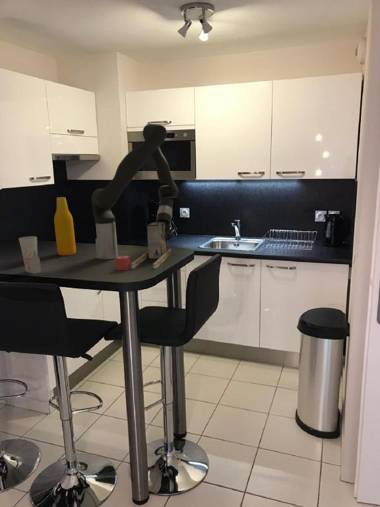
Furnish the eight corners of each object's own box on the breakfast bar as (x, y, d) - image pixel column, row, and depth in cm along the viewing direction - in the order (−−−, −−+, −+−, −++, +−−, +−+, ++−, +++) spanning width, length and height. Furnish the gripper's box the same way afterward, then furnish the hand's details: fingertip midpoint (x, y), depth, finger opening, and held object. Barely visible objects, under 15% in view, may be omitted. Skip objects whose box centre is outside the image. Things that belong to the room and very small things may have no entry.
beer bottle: (74, 250, 220) (68, 196, 213) (77, 254, 211) (72, 197, 205) (56, 253, 216) (50, 197, 209) (59, 256, 208) (52, 198, 201)
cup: (43, 260, 200) (40, 236, 197) (32, 264, 192) (29, 239, 190) (29, 260, 202) (26, 236, 200) (18, 264, 195) (15, 239, 192)
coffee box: (154, 254, 204) (152, 222, 201) (166, 254, 203) (164, 221, 199) (148, 258, 196) (146, 225, 192) (161, 258, 194) (159, 224, 191)
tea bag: (33, 269, 183) (30, 247, 181) (41, 271, 179) (38, 249, 177) (25, 271, 181) (22, 249, 178) (33, 273, 176) (30, 251, 174)
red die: (116, 269, 177) (115, 257, 176) (120, 266, 182) (119, 255, 181) (127, 270, 176) (126, 257, 175) (130, 267, 181) (129, 255, 180)
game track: (131, 268, 178) (130, 264, 178) (150, 253, 207) (150, 249, 206) (155, 268, 176) (155, 264, 176) (172, 253, 205) (171, 249, 204)
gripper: (150, 212, 210) (145, 240, 201) (175, 211, 208) (171, 240, 199) (153, 220, 216) (148, 248, 207) (178, 220, 214) (174, 248, 205)
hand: (159, 244), depth 203 cm, fingers closed
